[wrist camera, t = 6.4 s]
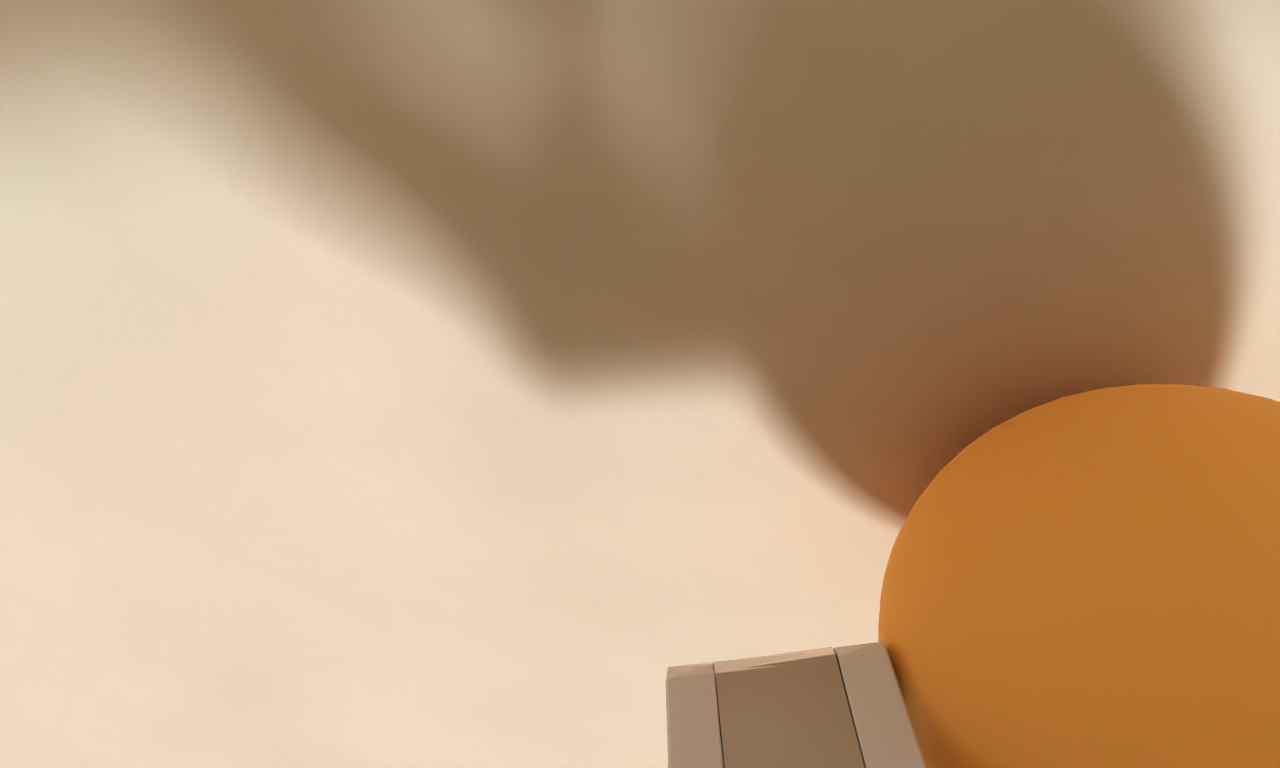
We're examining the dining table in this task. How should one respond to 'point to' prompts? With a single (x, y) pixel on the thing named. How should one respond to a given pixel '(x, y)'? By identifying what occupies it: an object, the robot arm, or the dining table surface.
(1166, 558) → the ball
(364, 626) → the dining table surface
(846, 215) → the dining table surface
